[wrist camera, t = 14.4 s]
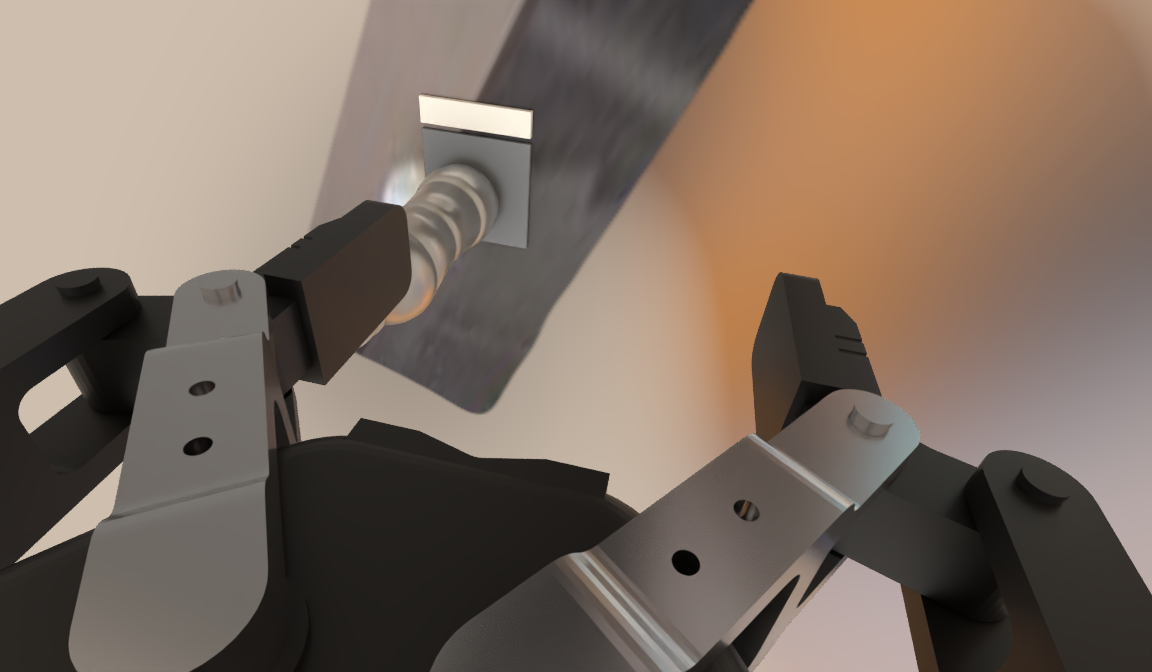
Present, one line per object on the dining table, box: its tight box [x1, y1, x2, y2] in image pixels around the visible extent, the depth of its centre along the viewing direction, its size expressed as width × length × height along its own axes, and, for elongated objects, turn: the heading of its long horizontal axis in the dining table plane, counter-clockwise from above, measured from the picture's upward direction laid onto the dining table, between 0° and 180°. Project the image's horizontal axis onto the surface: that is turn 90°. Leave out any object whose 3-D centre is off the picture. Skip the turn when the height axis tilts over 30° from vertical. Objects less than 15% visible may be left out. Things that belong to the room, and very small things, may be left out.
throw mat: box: [419, 94, 533, 248], centre depth 47 cm, size 12×9×1 cm
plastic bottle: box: [360, 164, 498, 347], centre depth 40 cm, size 6×7×20 cm
